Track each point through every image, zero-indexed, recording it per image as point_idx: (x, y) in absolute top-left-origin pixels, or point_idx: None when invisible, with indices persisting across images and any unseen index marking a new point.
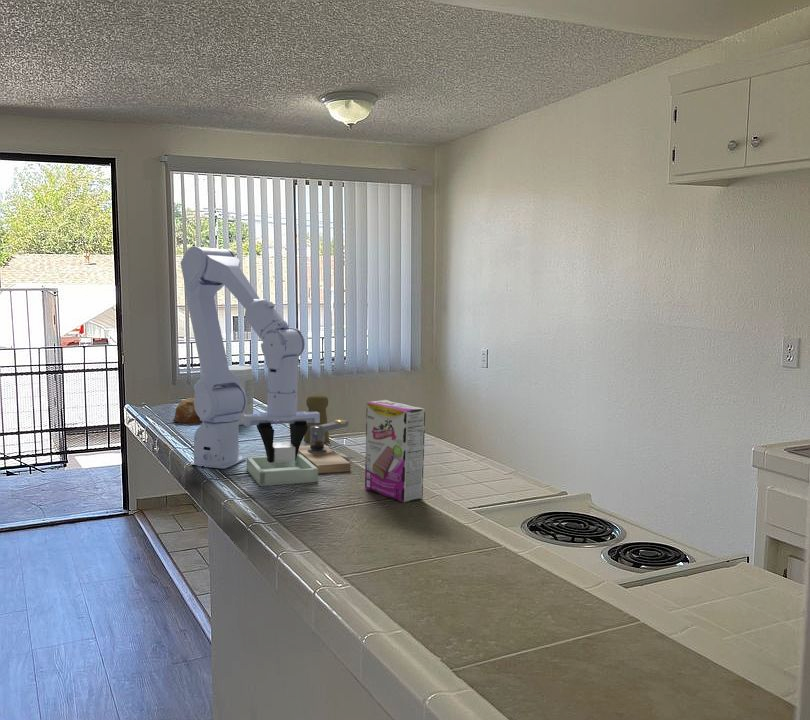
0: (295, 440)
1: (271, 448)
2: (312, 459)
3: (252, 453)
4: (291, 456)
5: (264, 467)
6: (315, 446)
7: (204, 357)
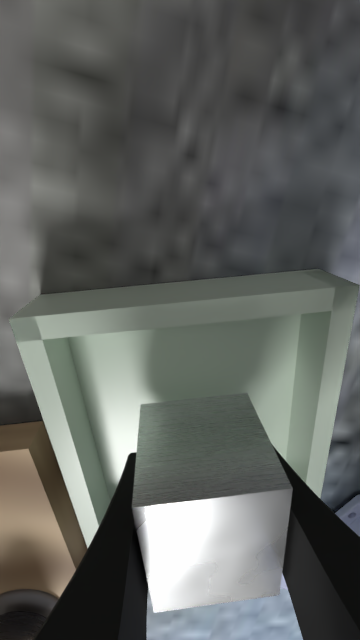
0: (122, 584)
1: (297, 504)
2: (47, 526)
3: (227, 614)
4: (160, 445)
5: None
6: (22, 629)
7: None
